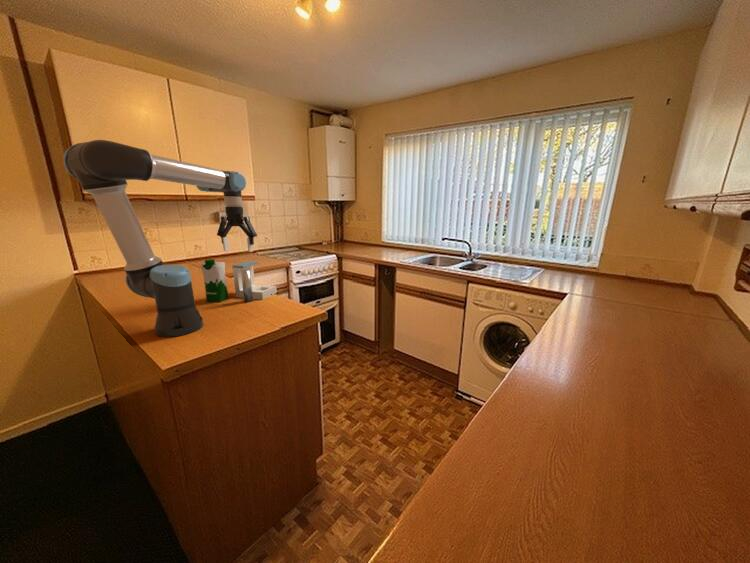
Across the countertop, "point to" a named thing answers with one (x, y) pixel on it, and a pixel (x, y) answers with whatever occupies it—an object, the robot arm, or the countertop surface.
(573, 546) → the countertop surface
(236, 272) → the l-shaped bracket
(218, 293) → the milk carton
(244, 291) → the peg
